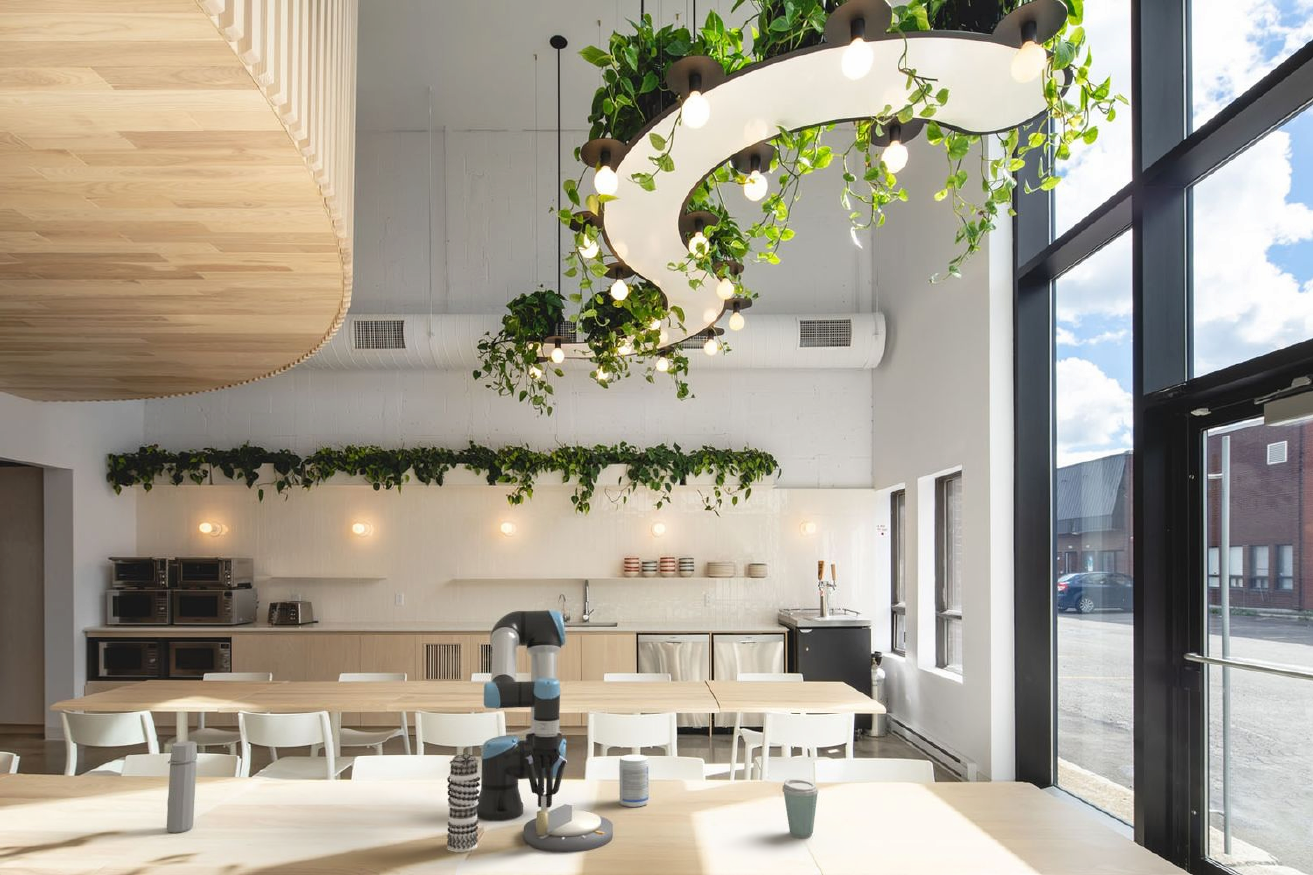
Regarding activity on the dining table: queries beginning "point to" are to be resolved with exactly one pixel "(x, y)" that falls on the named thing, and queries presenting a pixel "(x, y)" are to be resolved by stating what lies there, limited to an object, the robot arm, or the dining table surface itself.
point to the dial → (566, 822)
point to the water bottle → (181, 787)
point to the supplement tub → (634, 780)
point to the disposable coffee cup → (800, 806)
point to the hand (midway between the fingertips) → (544, 818)
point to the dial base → (568, 838)
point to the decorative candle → (463, 803)
